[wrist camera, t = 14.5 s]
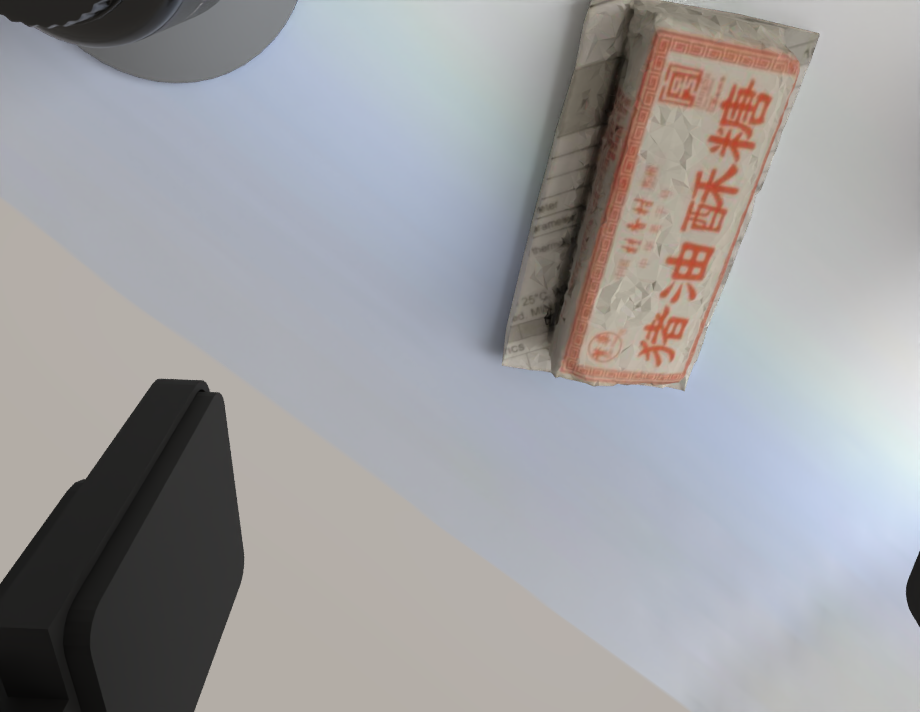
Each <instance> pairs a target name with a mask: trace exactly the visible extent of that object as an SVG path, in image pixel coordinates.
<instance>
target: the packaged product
mask: <svg viewBox="0 0 920 712" xmlns="http://www.w3.org/2000/svg"><path fill="white" fill-rule="evenodd" d="M818 38H819V33H815V32H811V31H807V30H803V29H799V28H795V27H790V26H786V25H782V24H778V23H774V22H770V21H765V20H761V19H757V18H753V17H749V16H745V15H740V14H735V13H729V12H723V11H718V10H712V9H706V8H700V7H695V6H689V5H683V4H678V3H672V2H666V1H661V0H591V2H590V5H589V8H588V11H587V14H586V17H585V20H584V23H583V28H582V34H581V39H580V44H579V49H578V55H577V60H576V65H575V69H574V72H573V75H572V79H571V82H570V85H569V89H568V92H567V95H566V99H565V102H564V105H563V109H562V112H561V115H560V118H559V122H558V125H557V128H556V132H555V135H554V141H553V144H552V148H551V152H550V156H549V159H548V163H547V167H546V170H545V174H544V178H543V182H542V185H541V189H540V192H539V196H538V199H537V203H536V207H535V211H534V215H533V219H532V223H531V227H530V231H529V235H528V239H527V243H526V247H525V251H524V255H523V259H522V263H521V267H520V272H519V276H518V280H517V284H516V289H515V293H514V297H513V301H512V305H511V310H510V314H509V318H508V322H507V326H506V334H505V343H504V351H503V360H502V366H509V367H515V368H522V369H528V370H538V371H546V372H551V373H552V374H553V375H554V376H555V378H556V377H563V378H565V379H570V380H575V381H579V382H583V383H587V384H589V385H592V386H614V385H616V384H623V385H631V384H635V385H636V384H638V385H645V386H653V387H659V388H664V387H665V386H666V387H670V388H675V389H679V390H683V391H685V387H686V384H687V381H688V378H689V376H690V373H691V370H692V368H693V365H694V363H695V362H696V361H697V358H698V355H699V352H700V349H701V347H702V344H703V341H704V338H705V334H706V331H707V328H708V326H709V323H710V320H711V318H712V315H713V313H714V310H715V308H716V305H717V302H718V301H719V298H720V295H721V293H722V290H723V288H724V285H725V283H726V280H727V278H728V275H729V273H730V270H731V268H732V265H733V262H734V260H735V257H736V254H737V251H738V249H739V246H740V244H741V242H742V239H743V237H744V234H745V232H746V229H747V226H748V224H749V221H750V218H751V215H752V210H753V206H754V201H755V196H756V194H757V193H758V192H759V191H760V190H761V188H762V185H763V183H764V180H765V177H766V175H767V172H768V170H769V167H770V164H771V161H772V159H773V156H774V154H775V151H776V149H777V146H778V143H779V140H780V137H781V133H782V131H783V128H784V126H785V124H786V122H787V119H788V117H789V114H790V112H791V109H792V107H793V104H794V101H795V99H796V96H797V94H798V91H799V89H800V86H801V83H802V80H803V77H804V75H805V73H806V70H807V68H808V65H809V63H810V60H811V58H812V55H813V52H814V49H815V46H816V43H817V41H818Z"/></svg>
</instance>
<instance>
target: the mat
mask: <svg viewBox="0 0 920 712" xmlns="http://www.w3.org/2000/svg"><path fill="white" fill-rule="evenodd" d="M296 3H297V0H220V1H219V2H217V3H216V4H215V5H214V6H213V7H211V8H210V9H209V10H207V11H206V12H204V13H202V14H200V15H198V16H196V17H194V18H192V19H190V20H187V21H185V22H182V23H180V24H178V25H175V26H173V27H171V28H168V29H166V30H164V31H161V32H159V33H156V34H154V35H152V36H149V37H147V38H145V39H142V40H140V41H137V42H134V43H131V44H127V45H123V46H117V47H109V48H91V47H84V46H79V45H77V46H78V47H80V48H81V49H82V50H84V51H85V52H87V53H88V54H90V55H91V56H93V57H94V58H96V59H98V60H99V61H101V62H103V63H105V64H107V65H109V66H111V67H113V68H115V69H117V70H119V71H122V72H124V73H127V74H130V75H133V76H136V77H139V78H143V79H148V80H153V81H157V82H169V83H188V82H198V81H203V80H208V79H213V78H216V77H219V76H221V75H224V74H227V73H230V72H232V71H233V70H235V69H237V68H239V67H241V66H243V65H245V64H246V63H247V62H249V61H250V60H252V59H253V58H254V57H256V56H257V55H258V54H260V53H261V52H262V51H263V50H264V49H265V48H266V47H267V46H268V45H269V44H270V43H271V42H272V41H273V40H274V39H275V38H276V36H277V35H278V34H279V32H280V31H281V30H282V28H283V27H284V26H285V24H286V22H287V21H288V19H289V17H290V15H291V13H292V12H293V10H294V8H295V5H296Z"/></svg>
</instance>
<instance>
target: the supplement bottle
mask: <svg viewBox="0 0 920 712" xmlns="http://www.w3.org/2000/svg"><path fill="white" fill-rule="evenodd" d="M219 1H220V0H0V14H1V15H4V16H6V17H7V18H8V19H9V20H11V21H12V22H22V23H24V24H25V25H27V26H29V27H35V28H36V29H38V30H40V31H42V32H43V33H45V34H47V35H49V36H51V37H54V38H56V39H58V40H61V41H64V42H67V43H70V44H75V45H79V46H84V47H91V48H109V47H117V46H123V45H127V44H131V43H134V42H137V41H140V40H142V39H145V38H147V37H149V36H152V35H154V34H156V33H159V32H161V31H164V30H166V29H168V28H171V27H173V26H175V25H178V24H180V23H182V22H185V21H187V20H190V19H192V18H194V17H196V16H198V15H200V14H202V13H204V12H206V11H207V10H209V9H210V8H211V7H213V6H214V5H215V4H216V3H217V2H219Z"/></svg>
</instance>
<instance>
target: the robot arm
mask: <svg viewBox="0 0 920 712" xmlns="http://www.w3.org/2000/svg"><path fill="white" fill-rule="evenodd" d="M243 569H244V550H243V542H242V535H241V527H240V520H239V512H238V505H237V497H236V489H235V481H234V474H233V466H232V459H231V451H230V443H229V437H228V428H227V421H226V413H225V405H224V401H223V397H222V395H221V394H220V393H218V392H217V393H216V392H210V391H209V388H208V385H207V384H206V382H204V381H202V380H178V379H157V380H156V381H155V382H154V383H153V384H152V385H151V387H150V388H149V390H148V391H147V393H146V394H145V396H144V397H143V398H142V400H141V401H140V403H139V404H138V405H137V407H136V408H135V410H134V411H133V413H132V414H131V415H130V417H129V418H128V420H127V421H126V422H125V424H124V425H123V427H122V428H121V430H120V431H119V433H118V434H117V435H116V437H115V438H114V440H113V441H112V443H111V444H110V445H109V447H108V448H107V450H106V451H105V452H104V454H103V455H102V457H101V458H100V459H99V461H98V462H97V464H96V465H95V467H94V468H93V469H92V471H91V472H90V474H89V475H88V477H87V478H86V479H83V480H80V481H78V482H76V483H74V485H72V487H70V489H69V490H68V491H67V492H66V493H65V495H64V496H63V497H62V499H61V500H60V502H59V503H58V505H57V506H56V507H55V509H54V510H53V511H52V513H51V514H50V516H49V517H48V518H47V520H46V522H45V523H44V524H43V526H42V527H41V528H40V530H39V531H38V532H37V534H36V535H35V536H34V538H33V539H32V541H31V542H30V543H29V545H28V546H27V547H26V549H25V550H24V552H23V553H22V554H21V556H20V557H19V559H18V560H17V561H16V563H15V564H14V566H13V567H12V568H11V570H10V571H9V572H8V574H7V575H6V577H5V578H4V579H3V581H2V582H1V584H0V712H194V710H195V708H196V705H197V702H198V699H199V697H200V694H201V691H202V688H203V685H204V683H205V680H206V677H207V675H208V672H209V669H210V666H211V663H212V661H213V658H214V655H215V653H216V650H217V647H218V644H219V642H220V639H221V636H222V633H223V630H224V628H225V625H226V622H227V620H228V617H229V614H230V611H231V609H232V606H233V603H234V600H235V597H236V595H237V592H238V589H239V587H240V584H241V580H242V575H243ZM906 597H907V603H908V607H909V609H910V611H911V613H912V615H913V617H914V618H915V620H916V622H917V623H918V625H919V627H920V552H919V554H918V557H917V559H916V562H915V564H914V567H913V569H912V572H911V574H910V576H909V579H908V582H907V586H906Z"/></svg>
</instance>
